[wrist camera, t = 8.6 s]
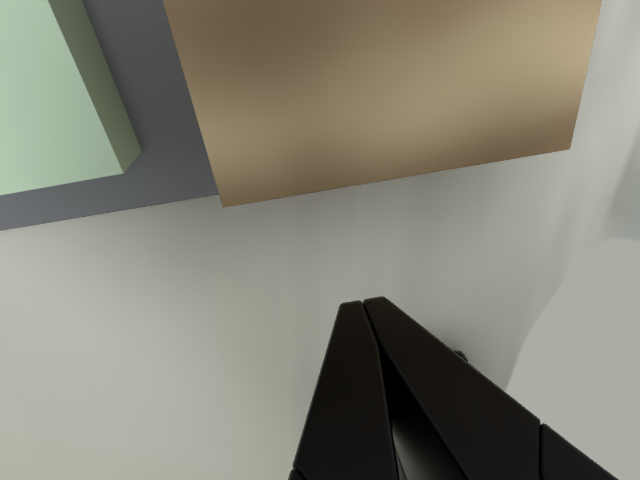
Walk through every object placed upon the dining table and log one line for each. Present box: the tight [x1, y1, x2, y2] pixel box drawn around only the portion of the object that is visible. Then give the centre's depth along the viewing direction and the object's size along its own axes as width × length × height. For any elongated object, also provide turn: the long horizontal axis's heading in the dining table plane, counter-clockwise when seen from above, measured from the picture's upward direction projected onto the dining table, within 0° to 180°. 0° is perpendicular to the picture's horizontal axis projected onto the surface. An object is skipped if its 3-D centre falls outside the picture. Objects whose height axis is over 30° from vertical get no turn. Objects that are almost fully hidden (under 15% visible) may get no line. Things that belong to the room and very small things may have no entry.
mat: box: [0, 0, 219, 231], centre depth 14 cm, size 13×12×1 cm
